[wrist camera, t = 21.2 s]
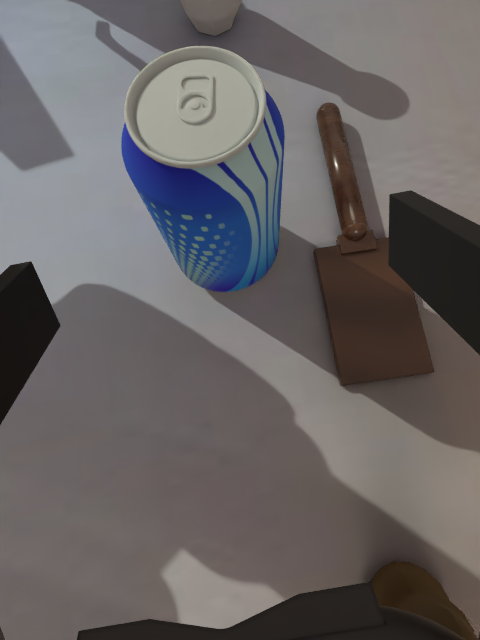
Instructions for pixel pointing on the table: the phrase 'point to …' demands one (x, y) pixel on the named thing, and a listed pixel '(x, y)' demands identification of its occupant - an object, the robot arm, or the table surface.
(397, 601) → the kendama
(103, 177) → the table surface
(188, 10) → the salt shaker
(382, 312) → the spatula
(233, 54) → the beer can
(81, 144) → the table surface
